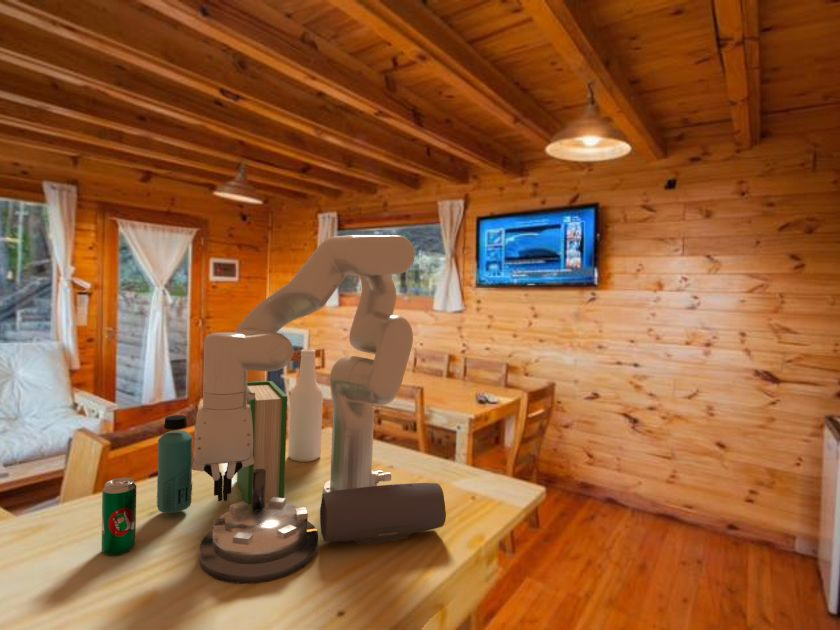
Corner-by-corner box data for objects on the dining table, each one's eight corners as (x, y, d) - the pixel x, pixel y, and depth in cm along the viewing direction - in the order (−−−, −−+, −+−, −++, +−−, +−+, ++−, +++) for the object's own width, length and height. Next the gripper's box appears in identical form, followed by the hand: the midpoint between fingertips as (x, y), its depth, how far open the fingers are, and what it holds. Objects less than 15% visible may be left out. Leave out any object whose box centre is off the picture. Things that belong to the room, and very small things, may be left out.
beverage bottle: (177, 522, 96) (179, 422, 95) (148, 518, 97) (149, 418, 96) (198, 508, 102) (201, 414, 101) (171, 504, 103) (173, 411, 102)
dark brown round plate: (306, 517, 100) (307, 506, 100) (328, 569, 82) (329, 556, 82) (200, 532, 92) (200, 520, 92) (198, 594, 74) (198, 580, 74)
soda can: (111, 541, 88) (112, 476, 87) (140, 542, 88) (142, 476, 88) (95, 557, 83) (96, 487, 82) (126, 557, 83) (127, 488, 82)
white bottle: (324, 453, 140) (328, 348, 138) (315, 463, 131) (319, 352, 130) (294, 450, 140) (298, 347, 139) (283, 461, 132) (287, 350, 130)
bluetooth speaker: (429, 520, 102) (431, 473, 101) (445, 542, 93) (448, 491, 92) (318, 533, 94) (320, 482, 94) (325, 558, 86) (327, 503, 85)
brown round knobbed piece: (298, 512, 98) (300, 464, 97) (314, 553, 83) (317, 496, 83) (212, 524, 91) (213, 472, 91) (212, 570, 77) (214, 509, 76)
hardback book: (283, 506, 105) (287, 396, 104) (247, 512, 101) (250, 398, 100) (268, 477, 120) (271, 380, 119) (237, 481, 117) (239, 382, 116)
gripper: (265, 394, 96) (262, 485, 97) (180, 397, 90) (178, 495, 91) (269, 402, 89) (266, 501, 90) (178, 407, 83) (176, 512, 84)
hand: (222, 498), depth 90 cm, fingers closed
